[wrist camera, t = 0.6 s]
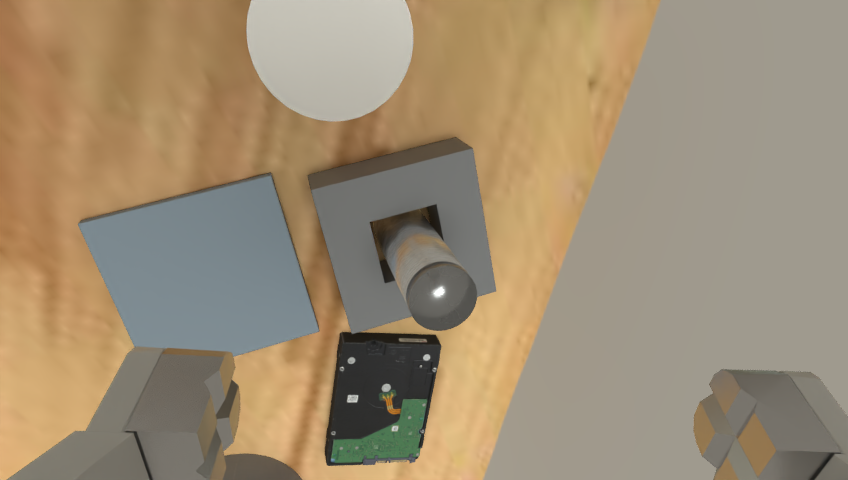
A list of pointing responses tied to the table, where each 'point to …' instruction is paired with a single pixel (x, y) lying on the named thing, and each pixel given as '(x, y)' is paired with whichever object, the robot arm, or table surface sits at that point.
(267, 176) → the rubber mat
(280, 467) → the tape roll
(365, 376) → the disk drive
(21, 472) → the robot arm
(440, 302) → the metal plug
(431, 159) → the block
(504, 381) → the table surface
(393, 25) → the cylindrical container
